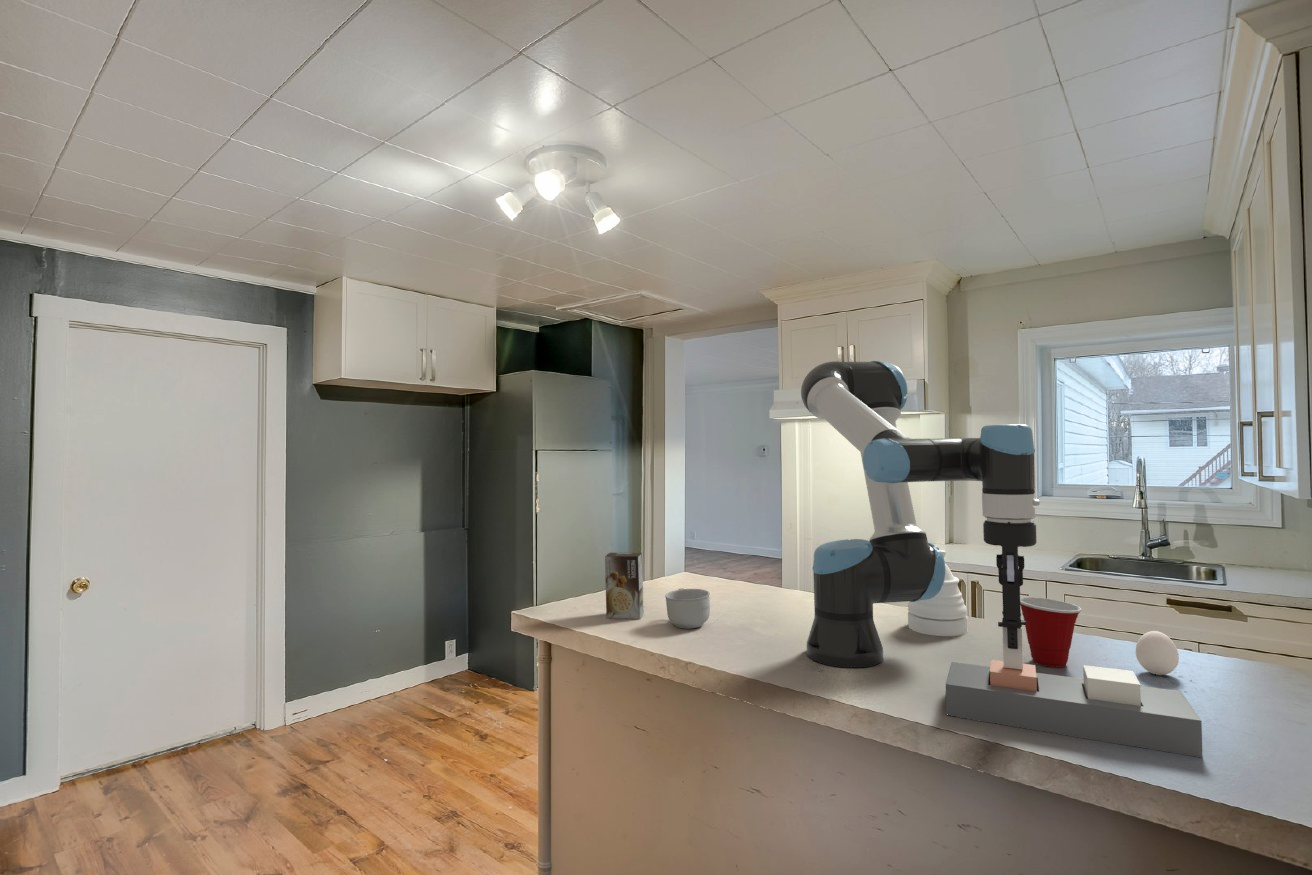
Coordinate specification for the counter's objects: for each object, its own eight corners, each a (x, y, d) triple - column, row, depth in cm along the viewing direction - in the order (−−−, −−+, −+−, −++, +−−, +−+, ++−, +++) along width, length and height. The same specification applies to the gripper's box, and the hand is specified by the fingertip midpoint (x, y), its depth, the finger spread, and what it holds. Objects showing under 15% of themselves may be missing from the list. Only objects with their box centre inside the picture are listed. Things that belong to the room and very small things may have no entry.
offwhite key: (1088, 704, 98) (1087, 677, 98) (1083, 690, 103) (1083, 664, 103) (1141, 712, 95) (1140, 684, 95) (1133, 697, 100) (1132, 670, 100)
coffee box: (644, 613, 172) (643, 552, 173) (640, 619, 166) (639, 556, 166) (610, 612, 174) (609, 551, 174) (605, 618, 167) (604, 555, 168)
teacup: (711, 631, 154) (711, 597, 154) (665, 632, 154) (665, 598, 155) (707, 616, 168) (707, 585, 168) (665, 616, 168) (665, 585, 168)
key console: (946, 715, 104) (945, 683, 104) (952, 690, 115) (951, 661, 115) (1202, 757, 89) (1201, 720, 89) (1182, 724, 100) (1181, 691, 100)
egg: (1127, 669, 124) (1126, 627, 124) (1158, 667, 125) (1157, 626, 125) (1156, 681, 118) (1154, 636, 118) (1188, 679, 118) (1187, 635, 118)
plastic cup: (1094, 673, 122) (1092, 609, 122) (1030, 670, 124) (1028, 607, 124) (1069, 655, 132) (1068, 596, 133) (1011, 653, 135) (1010, 594, 135)
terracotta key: (990, 696, 104) (990, 671, 104) (991, 683, 109) (990, 659, 109) (1037, 703, 101) (1036, 677, 101) (1035, 689, 106) (1035, 665, 106)
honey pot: (926, 618, 163) (924, 546, 163) (978, 629, 153) (976, 551, 153) (897, 627, 155) (895, 551, 155) (950, 639, 145) (948, 558, 145)
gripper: (1037, 525, 98) (1042, 683, 97) (1034, 516, 109) (1038, 658, 109) (981, 523, 102) (985, 676, 101) (984, 515, 113) (988, 652, 113)
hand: (1013, 666), depth 105 cm, fingers closed
